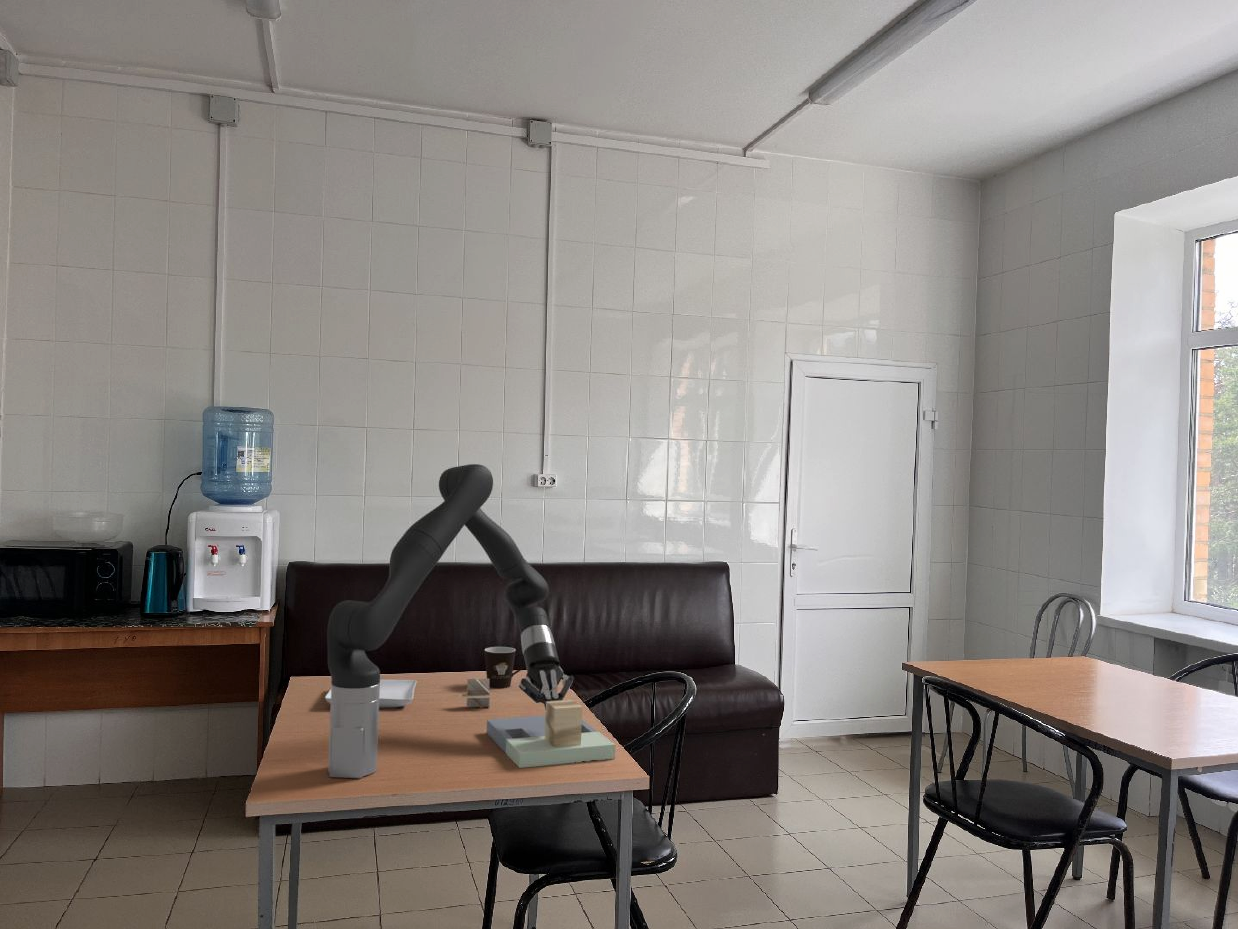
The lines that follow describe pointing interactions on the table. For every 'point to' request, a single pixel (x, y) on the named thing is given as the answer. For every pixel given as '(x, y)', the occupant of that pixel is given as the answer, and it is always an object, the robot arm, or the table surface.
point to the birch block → (563, 723)
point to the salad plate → (392, 693)
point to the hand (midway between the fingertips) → (554, 717)
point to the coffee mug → (500, 666)
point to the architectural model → (477, 693)
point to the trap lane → (545, 743)
